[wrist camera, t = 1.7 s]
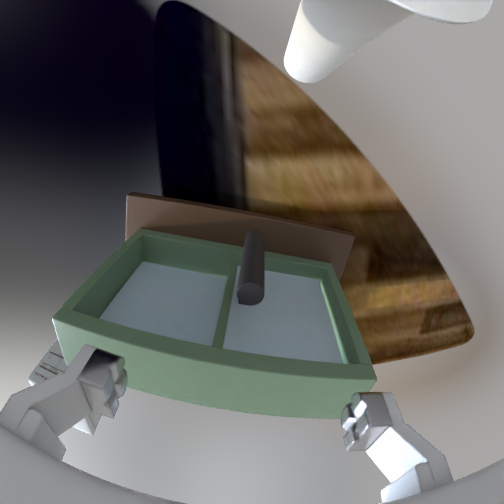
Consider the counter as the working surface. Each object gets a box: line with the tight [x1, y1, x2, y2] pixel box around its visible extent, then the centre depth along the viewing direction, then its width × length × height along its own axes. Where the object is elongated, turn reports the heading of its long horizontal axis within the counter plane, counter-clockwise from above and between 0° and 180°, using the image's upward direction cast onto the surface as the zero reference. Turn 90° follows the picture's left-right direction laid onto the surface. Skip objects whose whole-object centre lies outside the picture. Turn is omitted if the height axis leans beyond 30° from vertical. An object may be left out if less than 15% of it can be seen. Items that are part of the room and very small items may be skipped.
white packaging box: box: [28, 338, 102, 435], centre depth 28 cm, size 7×7×13 cm
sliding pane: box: [212, 230, 343, 363], centre depth 19 cm, size 5×8×11 cm, turn 79°
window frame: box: [52, 192, 377, 419], centre depth 21 cm, size 10×21×15 cm, turn 80°
